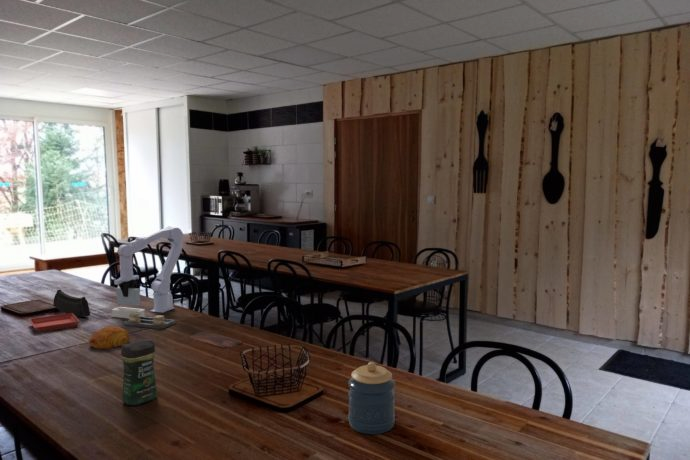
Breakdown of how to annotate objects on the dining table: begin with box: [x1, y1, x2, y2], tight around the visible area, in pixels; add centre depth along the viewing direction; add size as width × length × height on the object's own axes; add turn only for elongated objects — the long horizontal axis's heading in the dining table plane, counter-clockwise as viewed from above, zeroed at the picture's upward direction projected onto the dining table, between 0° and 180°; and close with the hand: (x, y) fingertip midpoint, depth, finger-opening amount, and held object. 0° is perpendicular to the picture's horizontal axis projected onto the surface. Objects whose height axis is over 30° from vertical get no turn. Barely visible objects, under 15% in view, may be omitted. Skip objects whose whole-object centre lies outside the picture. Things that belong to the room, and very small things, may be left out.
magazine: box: [52, 289, 91, 318], centre depth 250 cm, size 17×3×30 cm
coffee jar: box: [120, 338, 158, 406], centre depth 152 cm, size 10×8×19 cm
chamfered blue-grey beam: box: [116, 286, 141, 307], centre depth 245 cm, size 2×12×8 cm, turn 71°
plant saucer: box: [29, 313, 80, 333], centre depth 231 cm, size 18×18×3 cm
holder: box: [110, 306, 147, 320], centre depth 246 cm, size 6×16×4 cm, turn 71°
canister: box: [347, 361, 396, 435], centre depth 137 cm, size 13×13×18 cm
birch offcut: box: [152, 314, 165, 323], centre depth 229 cm, size 3×3×2 cm
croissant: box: [88, 325, 131, 350], centre depth 205 cm, size 14×16×8 cm
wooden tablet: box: [189, 331, 244, 349], centre depth 210 cm, size 26×2×10 cm
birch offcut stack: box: [127, 313, 140, 323], centre depth 233 cm, size 4×4×5 cm
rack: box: [122, 316, 176, 330], centre depth 233 cm, size 10×22×2 cm, turn 71°
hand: (127, 296), depth 245 cm, fingers closed on chamfered blue-grey beam, 2 cm apart
